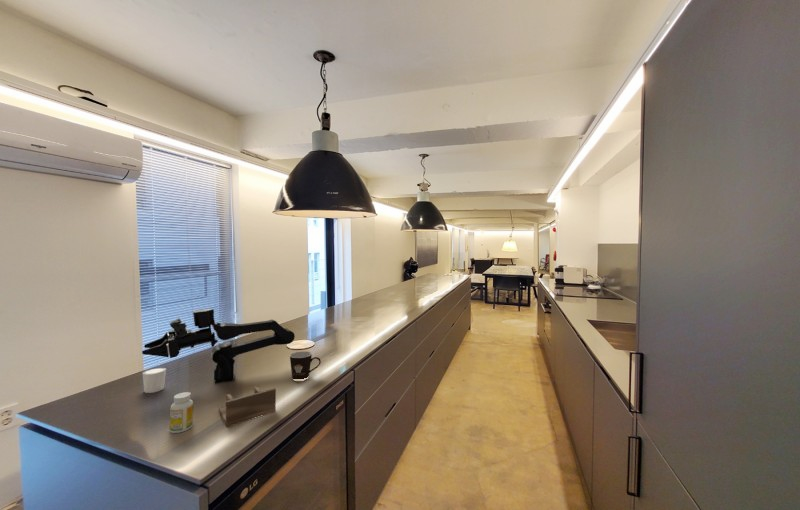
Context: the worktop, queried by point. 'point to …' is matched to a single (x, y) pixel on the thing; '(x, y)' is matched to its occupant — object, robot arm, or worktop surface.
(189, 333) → the robot arm
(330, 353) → the worktop surface
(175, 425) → the supplement bottle
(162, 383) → the white cup
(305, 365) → the coffee mug
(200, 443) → the worktop surface
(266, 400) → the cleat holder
